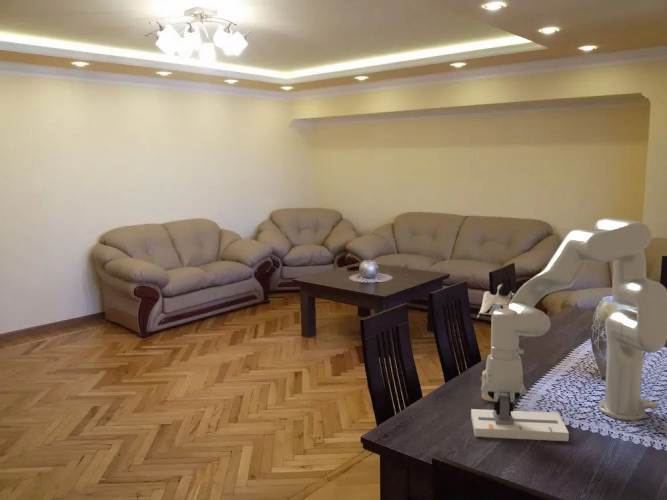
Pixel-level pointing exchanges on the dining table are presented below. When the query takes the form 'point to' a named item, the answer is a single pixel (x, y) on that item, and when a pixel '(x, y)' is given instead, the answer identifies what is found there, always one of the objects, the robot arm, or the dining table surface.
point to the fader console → (520, 425)
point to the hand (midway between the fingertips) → (503, 412)
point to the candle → (484, 396)
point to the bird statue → (494, 305)
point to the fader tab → (503, 410)
